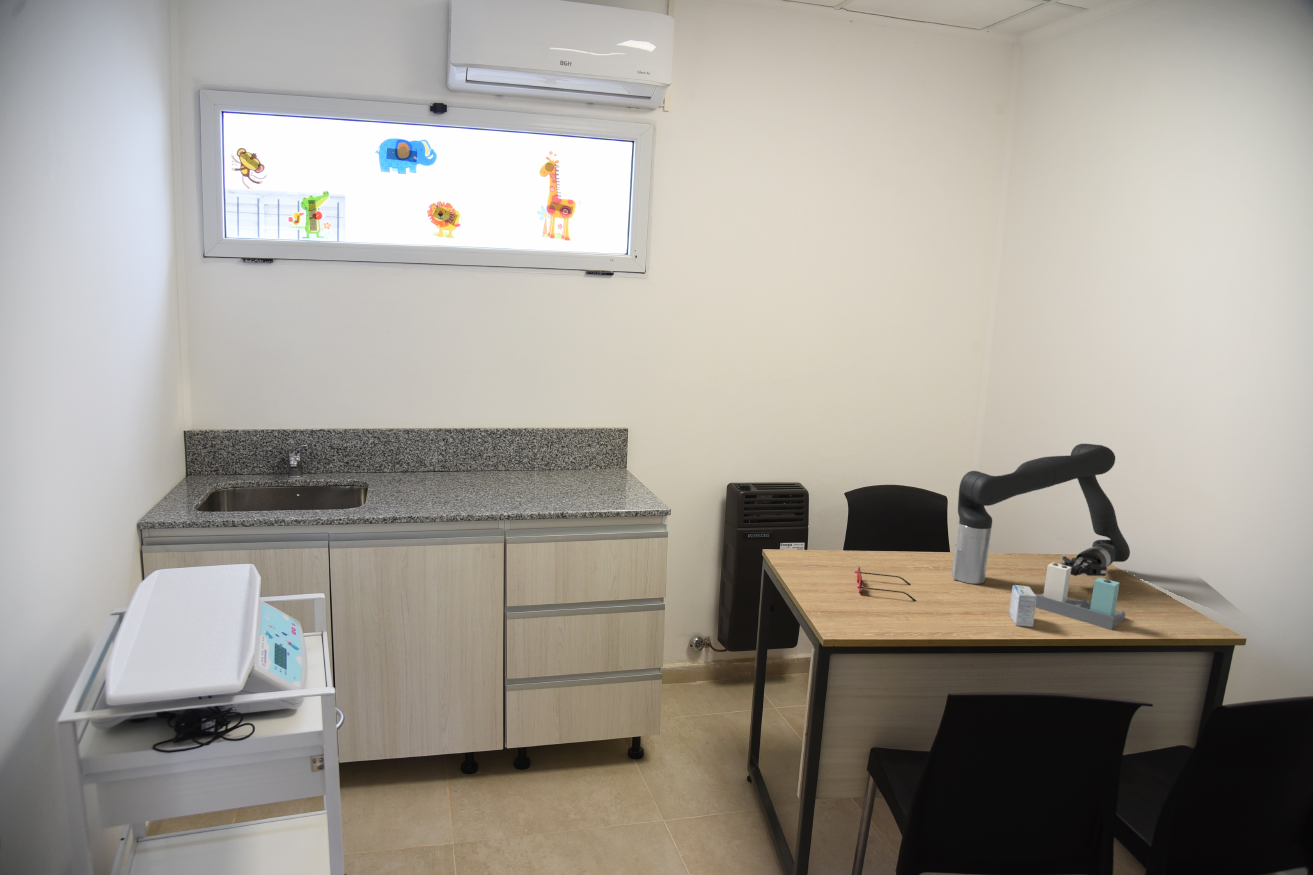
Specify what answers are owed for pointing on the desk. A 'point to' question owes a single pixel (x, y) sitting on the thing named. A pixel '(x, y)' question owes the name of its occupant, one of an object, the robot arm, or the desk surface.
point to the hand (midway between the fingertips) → (1073, 571)
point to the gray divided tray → (1079, 611)
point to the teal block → (1104, 596)
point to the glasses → (859, 578)
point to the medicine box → (1022, 606)
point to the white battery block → (1057, 582)
